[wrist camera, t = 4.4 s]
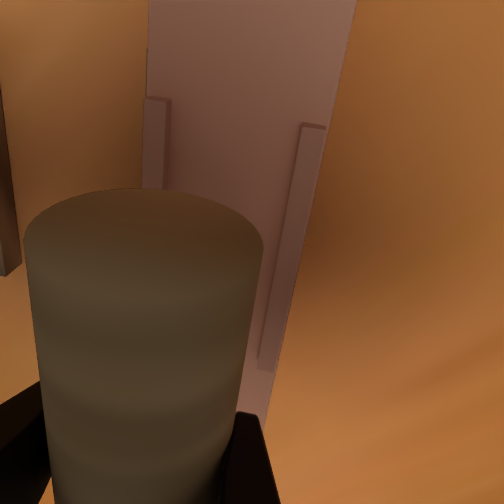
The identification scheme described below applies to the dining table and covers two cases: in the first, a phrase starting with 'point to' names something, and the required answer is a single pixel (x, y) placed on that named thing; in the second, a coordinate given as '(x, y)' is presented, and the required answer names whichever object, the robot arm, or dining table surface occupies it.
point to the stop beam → (247, 133)
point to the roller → (140, 341)
